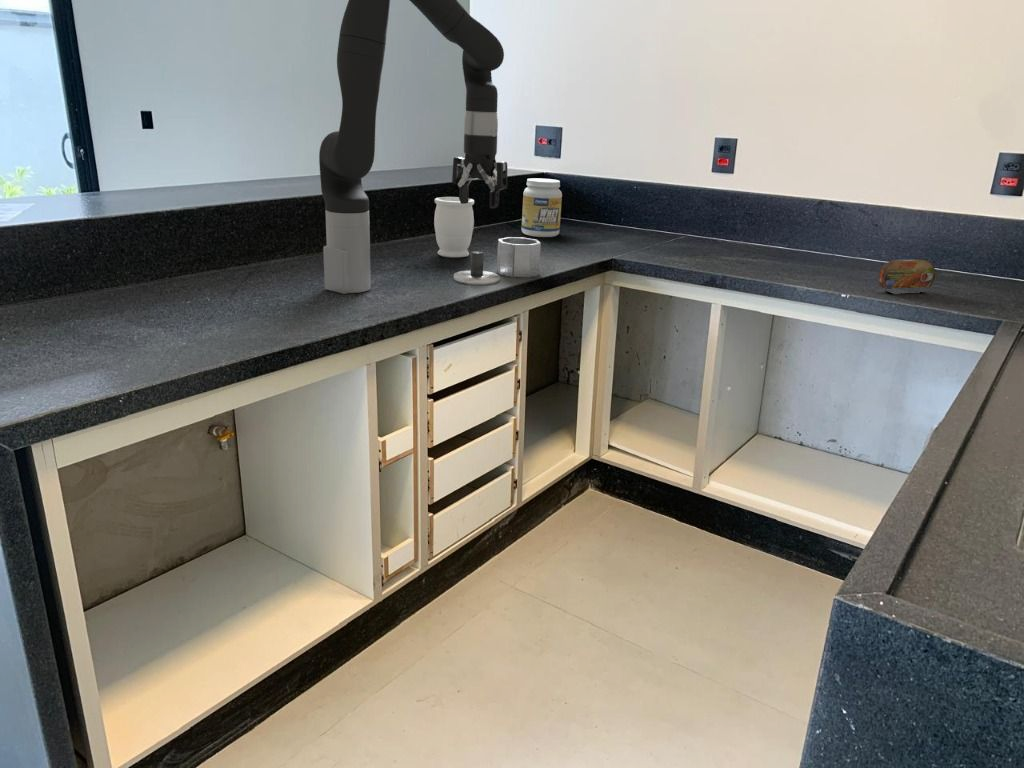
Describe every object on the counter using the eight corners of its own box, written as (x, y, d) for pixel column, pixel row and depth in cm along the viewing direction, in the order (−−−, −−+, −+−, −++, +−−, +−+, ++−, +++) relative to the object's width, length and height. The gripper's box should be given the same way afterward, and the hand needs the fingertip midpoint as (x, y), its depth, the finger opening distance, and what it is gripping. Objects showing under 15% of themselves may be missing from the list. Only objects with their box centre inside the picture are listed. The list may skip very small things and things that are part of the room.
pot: (522, 279, 192) (524, 246, 189) (489, 272, 197) (491, 240, 194) (545, 273, 199) (547, 241, 197) (513, 266, 205) (514, 235, 202)
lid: (480, 288, 183) (481, 259, 180) (444, 280, 189) (444, 252, 186) (508, 280, 191) (509, 253, 189) (472, 273, 197) (473, 246, 195)
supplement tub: (533, 238, 244) (536, 182, 238) (514, 231, 254) (516, 177, 248) (566, 236, 250) (570, 182, 244) (546, 230, 260) (549, 177, 254)
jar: (475, 252, 220) (476, 197, 214) (469, 260, 210) (471, 202, 205) (437, 250, 221) (438, 195, 215) (430, 257, 211) (431, 200, 206)
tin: (881, 295, 194) (889, 261, 191) (873, 291, 197) (880, 258, 194) (932, 293, 198) (940, 260, 195) (923, 290, 201) (930, 257, 198)
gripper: (445, 130, 179) (444, 203, 185) (496, 135, 171) (493, 211, 177) (466, 130, 185) (464, 200, 190) (516, 134, 177) (513, 207, 183)
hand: (478, 205), depth 184 cm, fingers open, 8 cm apart
